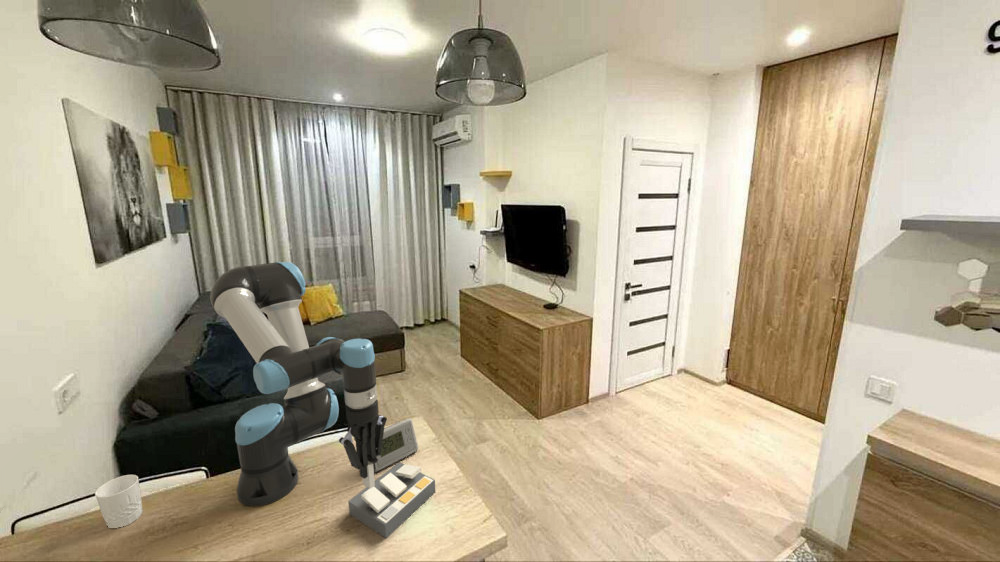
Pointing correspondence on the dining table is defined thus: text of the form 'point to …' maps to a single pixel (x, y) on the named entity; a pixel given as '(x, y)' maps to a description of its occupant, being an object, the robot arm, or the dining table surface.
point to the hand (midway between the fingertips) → (369, 485)
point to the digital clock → (397, 443)
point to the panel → (393, 503)
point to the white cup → (120, 501)
